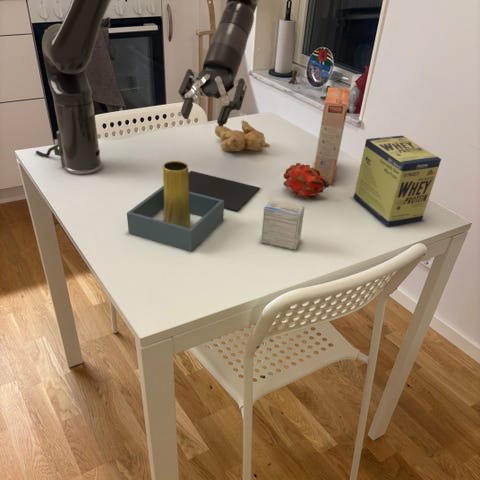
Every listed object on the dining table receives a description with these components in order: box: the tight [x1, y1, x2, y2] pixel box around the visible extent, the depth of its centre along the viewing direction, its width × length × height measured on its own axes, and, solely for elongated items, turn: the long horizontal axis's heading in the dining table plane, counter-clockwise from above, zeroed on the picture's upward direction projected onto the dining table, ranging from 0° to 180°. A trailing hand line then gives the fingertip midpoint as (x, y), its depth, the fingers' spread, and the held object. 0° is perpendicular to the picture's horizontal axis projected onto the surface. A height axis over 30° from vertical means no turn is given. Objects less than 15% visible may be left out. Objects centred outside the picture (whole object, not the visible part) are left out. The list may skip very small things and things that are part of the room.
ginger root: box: [214, 120, 271, 153], centre depth 151 cm, size 16×16×8 cm
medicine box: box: [260, 199, 305, 251], centre depth 110 cm, size 8×4×9 cm, turn 71°
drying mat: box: [188, 170, 260, 213], centre depth 130 cm, size 20×14×1 cm
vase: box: [162, 160, 192, 228], centre depth 111 cm, size 6×6×14 cm
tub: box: [126, 185, 225, 252], centre depth 114 cm, size 16×16×5 cm
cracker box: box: [313, 86, 351, 186], centre depth 135 cm, size 14×6×21 cm, turn 168°
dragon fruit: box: [283, 162, 330, 200], centre depth 129 cm, size 8×8×12 cm
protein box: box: [353, 135, 442, 227], centre depth 123 cm, size 10×16×16 cm
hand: (201, 121), depth 111 cm, fingers open, 8 cm apart
